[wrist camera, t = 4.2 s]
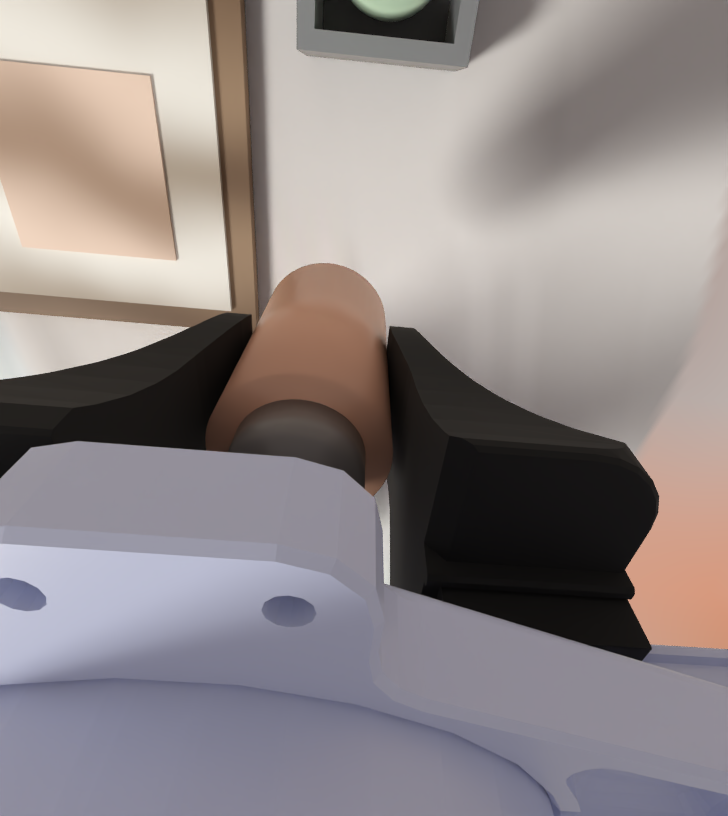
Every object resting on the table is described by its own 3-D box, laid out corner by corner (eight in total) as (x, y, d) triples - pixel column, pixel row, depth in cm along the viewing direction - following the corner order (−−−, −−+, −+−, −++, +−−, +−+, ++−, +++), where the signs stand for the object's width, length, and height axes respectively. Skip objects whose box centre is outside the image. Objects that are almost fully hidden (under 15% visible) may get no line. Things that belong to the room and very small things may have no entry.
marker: (378, 376, 14) (383, 565, 9) (269, 368, 14) (199, 553, 8) (391, 269, 12) (408, 417, 7) (266, 257, 12) (172, 398, 7)
